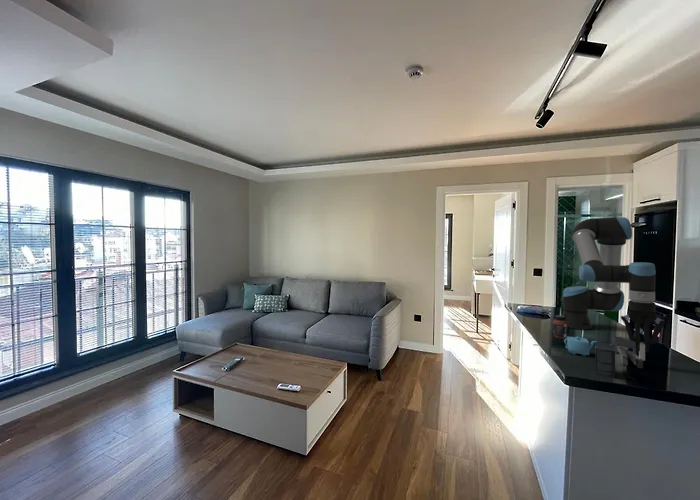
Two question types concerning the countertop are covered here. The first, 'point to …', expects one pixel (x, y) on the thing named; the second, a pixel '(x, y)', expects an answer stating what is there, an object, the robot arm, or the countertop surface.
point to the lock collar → (624, 343)
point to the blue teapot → (578, 345)
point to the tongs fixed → (623, 355)
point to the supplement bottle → (560, 327)
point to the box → (605, 359)
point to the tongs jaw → (635, 359)
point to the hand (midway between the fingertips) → (642, 359)
